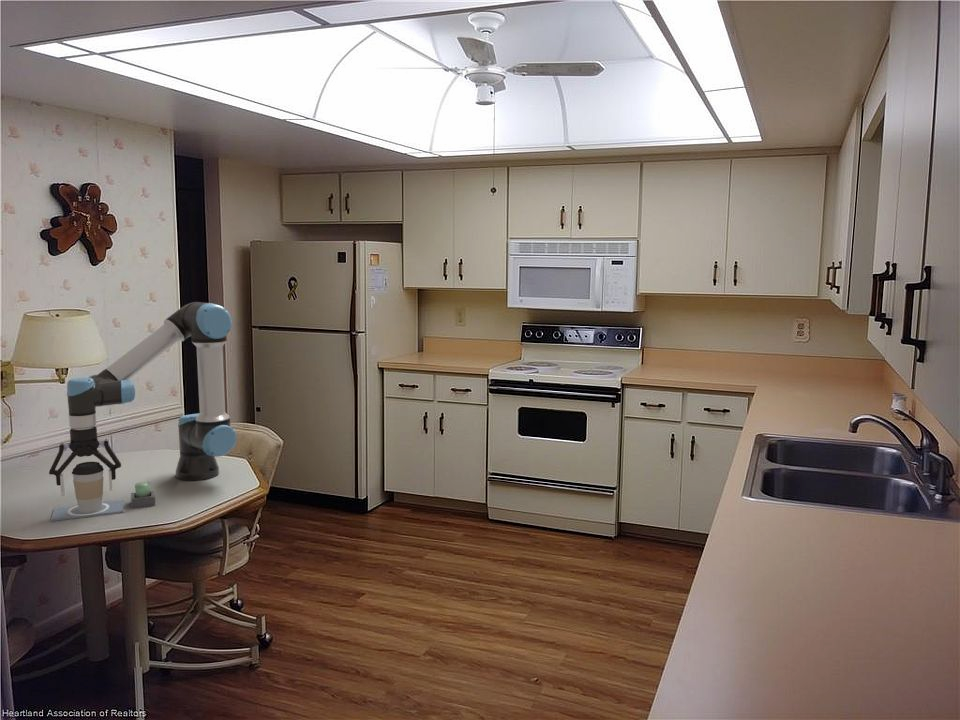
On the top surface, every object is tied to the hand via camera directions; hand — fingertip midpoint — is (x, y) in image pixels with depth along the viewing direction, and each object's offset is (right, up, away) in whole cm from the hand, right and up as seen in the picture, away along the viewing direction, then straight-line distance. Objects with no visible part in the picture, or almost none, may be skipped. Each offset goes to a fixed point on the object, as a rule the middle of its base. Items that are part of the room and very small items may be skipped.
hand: (87, 492), depth 239 cm
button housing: (+14, -5, +8) cm, 17 cm away
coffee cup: (0, -6, +1) cm, 6 cm away
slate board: (0, -6, +1) cm, 6 cm away
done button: (+14, -3, +8) cm, 16 cm away
